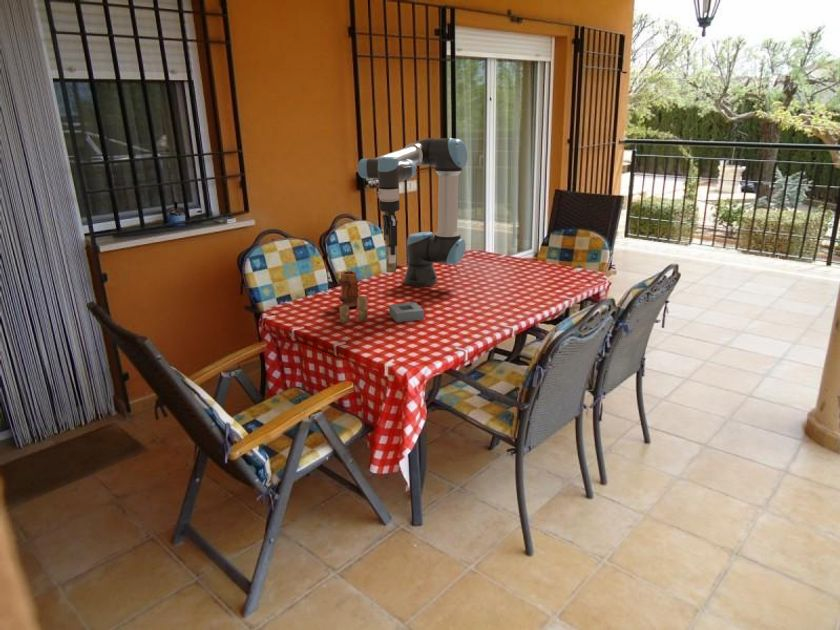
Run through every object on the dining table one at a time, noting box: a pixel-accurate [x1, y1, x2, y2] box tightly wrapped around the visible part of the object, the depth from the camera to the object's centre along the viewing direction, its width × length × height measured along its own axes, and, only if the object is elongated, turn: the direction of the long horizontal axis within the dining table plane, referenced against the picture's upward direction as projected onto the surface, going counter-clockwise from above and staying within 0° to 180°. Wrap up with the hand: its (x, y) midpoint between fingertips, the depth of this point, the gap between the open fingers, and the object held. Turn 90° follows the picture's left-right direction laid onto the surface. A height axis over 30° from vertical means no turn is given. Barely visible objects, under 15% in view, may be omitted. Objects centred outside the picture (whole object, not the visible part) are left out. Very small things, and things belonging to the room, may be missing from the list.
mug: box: [338, 270, 360, 308], centre depth 254 cm, size 15×8×15 cm, turn 21°
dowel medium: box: [357, 295, 368, 322], centre depth 241 cm, size 4×4×9 cm
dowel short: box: [339, 304, 351, 324], centre depth 240 cm, size 4×4×6 cm
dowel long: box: [385, 234, 397, 274], centre depth 237 cm, size 4×4×14 cm
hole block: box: [388, 302, 425, 323], centre depth 245 cm, size 11×11×4 cm
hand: (391, 261), depth 238 cm, fingers closed on dowel long, 3 cm apart
